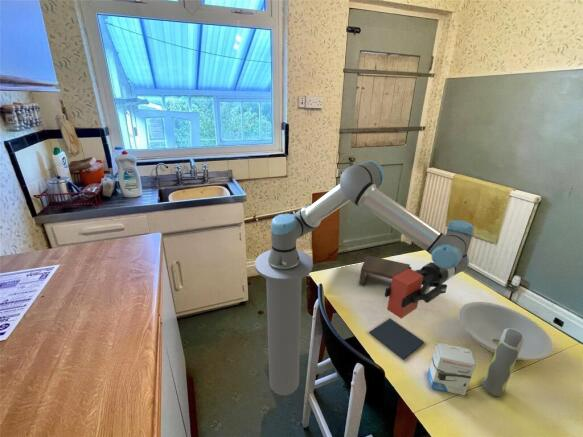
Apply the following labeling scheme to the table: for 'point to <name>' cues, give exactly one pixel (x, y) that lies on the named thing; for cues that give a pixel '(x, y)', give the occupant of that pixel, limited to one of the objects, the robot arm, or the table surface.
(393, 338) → the mat
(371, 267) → the shelf
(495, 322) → the soup bowl
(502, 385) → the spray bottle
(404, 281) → the block
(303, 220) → the robot arm
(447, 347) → the ink box
